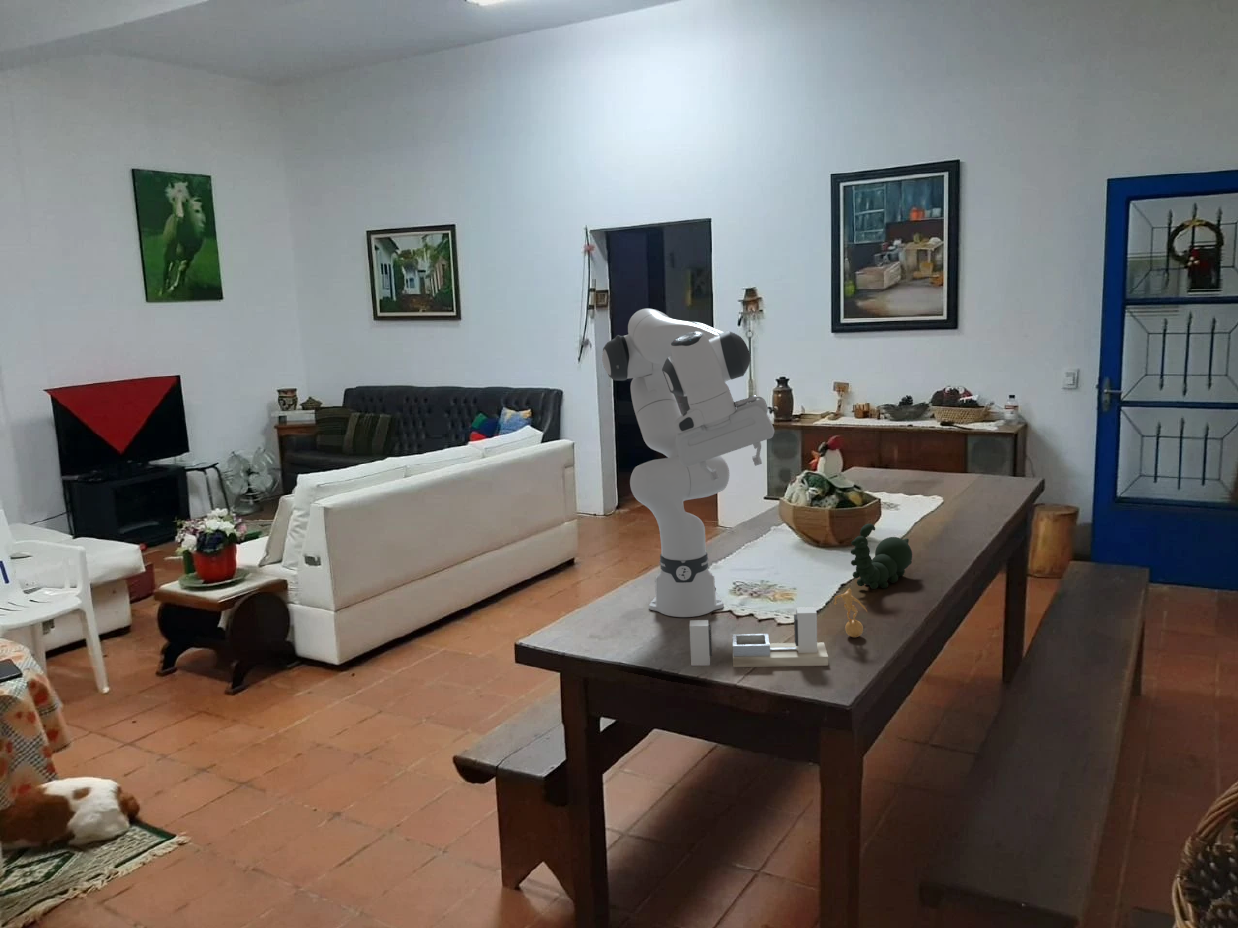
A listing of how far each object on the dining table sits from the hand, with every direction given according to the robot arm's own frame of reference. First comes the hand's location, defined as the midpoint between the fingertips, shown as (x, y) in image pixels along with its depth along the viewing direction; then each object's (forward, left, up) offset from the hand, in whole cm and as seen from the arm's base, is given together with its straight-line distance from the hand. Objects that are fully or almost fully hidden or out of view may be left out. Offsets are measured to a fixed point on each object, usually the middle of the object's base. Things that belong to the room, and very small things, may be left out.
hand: (736, 471), depth 199 cm
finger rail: (-3, +8, -42) cm, 43 cm away
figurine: (-14, +25, -43) cm, 51 cm away
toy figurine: (-52, +38, -43) cm, 77 cm away
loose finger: (-2, -9, -42) cm, 43 cm away
